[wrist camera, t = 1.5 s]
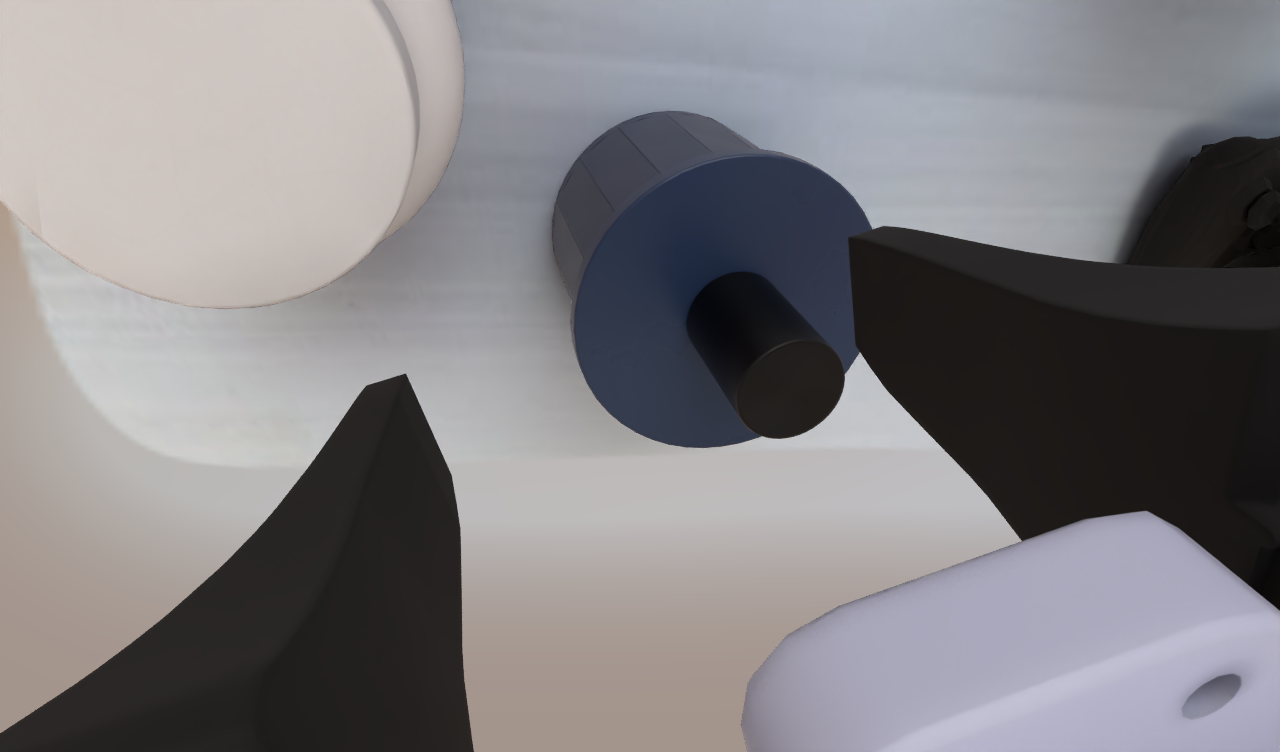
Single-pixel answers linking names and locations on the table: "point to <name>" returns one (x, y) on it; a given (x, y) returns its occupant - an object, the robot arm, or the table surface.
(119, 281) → the pill bottle
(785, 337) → the lid
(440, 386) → the table surface
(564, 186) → the tin
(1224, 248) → the gaming controller
